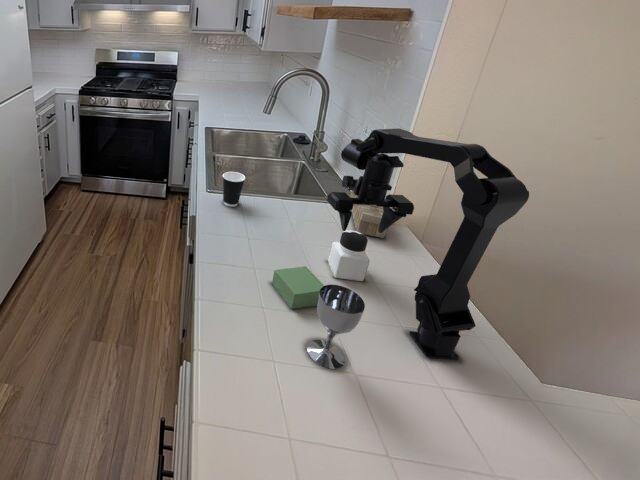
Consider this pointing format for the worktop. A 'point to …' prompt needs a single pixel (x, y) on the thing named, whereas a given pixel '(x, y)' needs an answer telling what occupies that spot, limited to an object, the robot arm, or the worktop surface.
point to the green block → (297, 286)
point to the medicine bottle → (349, 256)
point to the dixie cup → (232, 187)
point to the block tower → (367, 219)
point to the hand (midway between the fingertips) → (361, 231)
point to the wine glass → (335, 322)
